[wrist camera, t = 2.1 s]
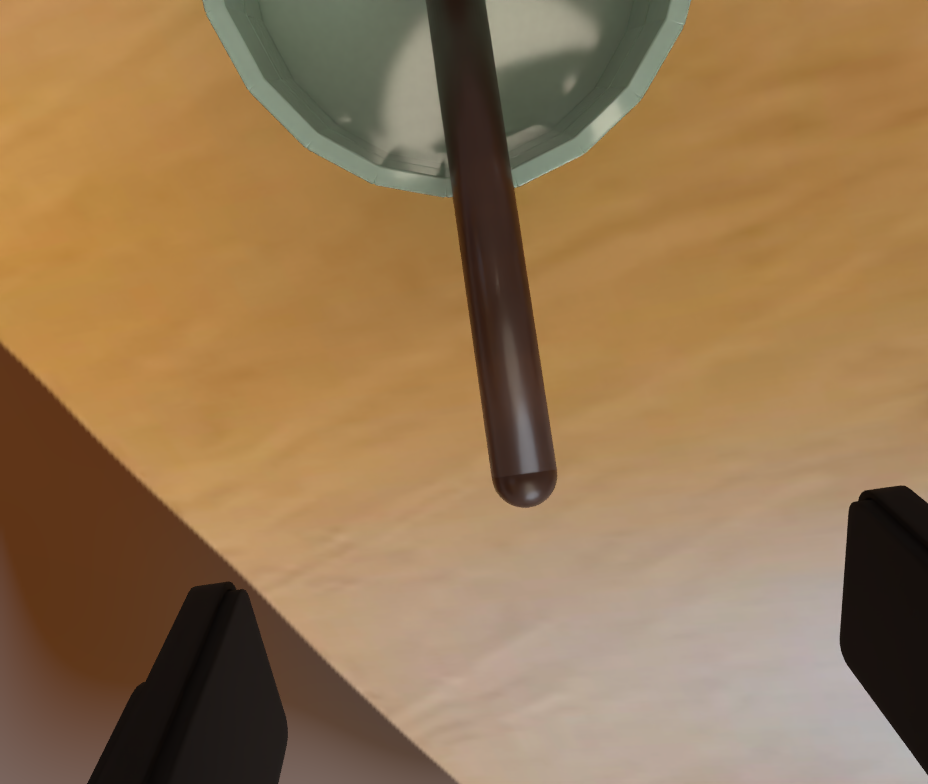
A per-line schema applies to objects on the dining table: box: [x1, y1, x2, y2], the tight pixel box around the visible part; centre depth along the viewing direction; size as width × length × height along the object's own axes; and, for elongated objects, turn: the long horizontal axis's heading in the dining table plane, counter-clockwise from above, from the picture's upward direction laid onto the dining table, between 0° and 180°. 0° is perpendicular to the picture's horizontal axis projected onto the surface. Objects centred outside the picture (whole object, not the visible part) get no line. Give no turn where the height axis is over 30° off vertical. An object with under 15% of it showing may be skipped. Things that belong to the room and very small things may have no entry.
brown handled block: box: [426, 0, 557, 508], centre depth 21 cm, size 21×4×11 cm, turn 8°
